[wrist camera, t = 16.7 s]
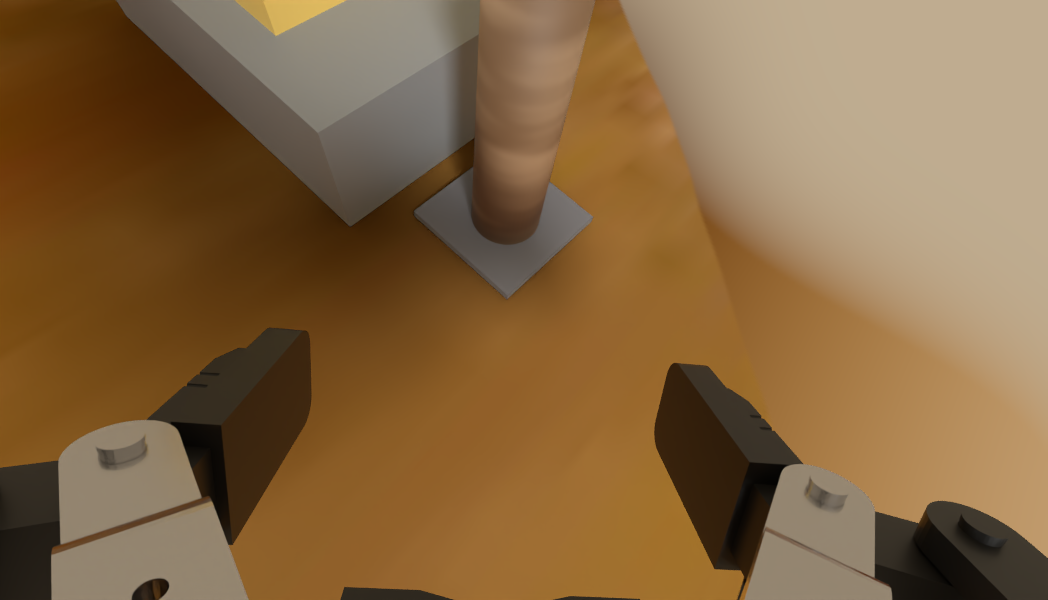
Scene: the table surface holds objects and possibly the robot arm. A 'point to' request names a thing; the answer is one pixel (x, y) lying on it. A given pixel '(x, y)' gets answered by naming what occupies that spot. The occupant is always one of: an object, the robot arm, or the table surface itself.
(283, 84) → the grey base plinth
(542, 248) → the rest pad
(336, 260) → the table surface
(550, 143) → the brown wooden cylinder
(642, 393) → the table surface
